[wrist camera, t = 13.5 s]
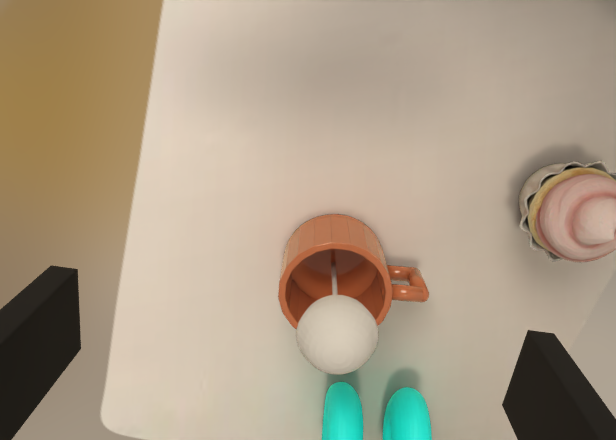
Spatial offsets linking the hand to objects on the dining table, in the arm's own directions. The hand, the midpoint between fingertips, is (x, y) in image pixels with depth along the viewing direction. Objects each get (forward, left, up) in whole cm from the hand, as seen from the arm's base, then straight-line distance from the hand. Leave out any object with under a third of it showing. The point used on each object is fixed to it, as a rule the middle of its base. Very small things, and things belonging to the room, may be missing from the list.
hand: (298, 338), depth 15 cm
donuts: (+15, +27, -33) cm, 45 cm away
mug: (+6, +13, -33) cm, 36 cm away
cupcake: (-13, +19, -33) cm, 40 cm away
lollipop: (+7, +11, -32) cm, 35 cm away
